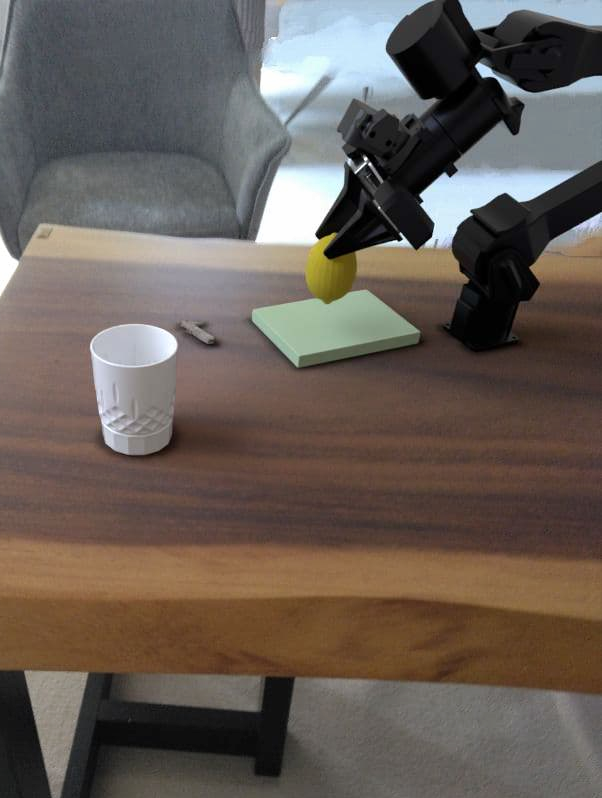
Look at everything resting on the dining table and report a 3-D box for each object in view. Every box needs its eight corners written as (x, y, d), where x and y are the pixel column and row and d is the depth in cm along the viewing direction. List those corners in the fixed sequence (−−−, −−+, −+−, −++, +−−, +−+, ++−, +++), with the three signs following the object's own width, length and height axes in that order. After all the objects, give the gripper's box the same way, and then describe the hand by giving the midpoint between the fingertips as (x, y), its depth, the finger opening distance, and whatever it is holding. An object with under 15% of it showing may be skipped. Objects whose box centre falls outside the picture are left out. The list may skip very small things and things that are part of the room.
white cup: (116, 468, 74) (110, 374, 67) (85, 425, 79) (77, 334, 72) (191, 447, 77) (193, 354, 70) (156, 406, 82) (155, 317, 75)
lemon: (322, 319, 87) (331, 247, 81) (292, 300, 90) (298, 229, 85) (361, 307, 89) (372, 236, 83) (331, 289, 92) (339, 219, 87)
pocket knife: (227, 336, 92) (207, 339, 91) (226, 342, 93) (206, 346, 91) (197, 317, 96) (177, 320, 94) (196, 323, 96) (177, 326, 94)
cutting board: (364, 300, 101) (366, 289, 100) (418, 343, 93) (421, 331, 92) (251, 320, 96) (252, 309, 95) (297, 368, 88) (299, 356, 87)
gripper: (374, 47, 81) (260, 163, 88) (424, 95, 67) (285, 228, 74) (434, 129, 86) (323, 232, 93) (492, 189, 73) (357, 305, 80)
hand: (321, 246), depth 85 cm, fingers closed on lemon, 4 cm apart
